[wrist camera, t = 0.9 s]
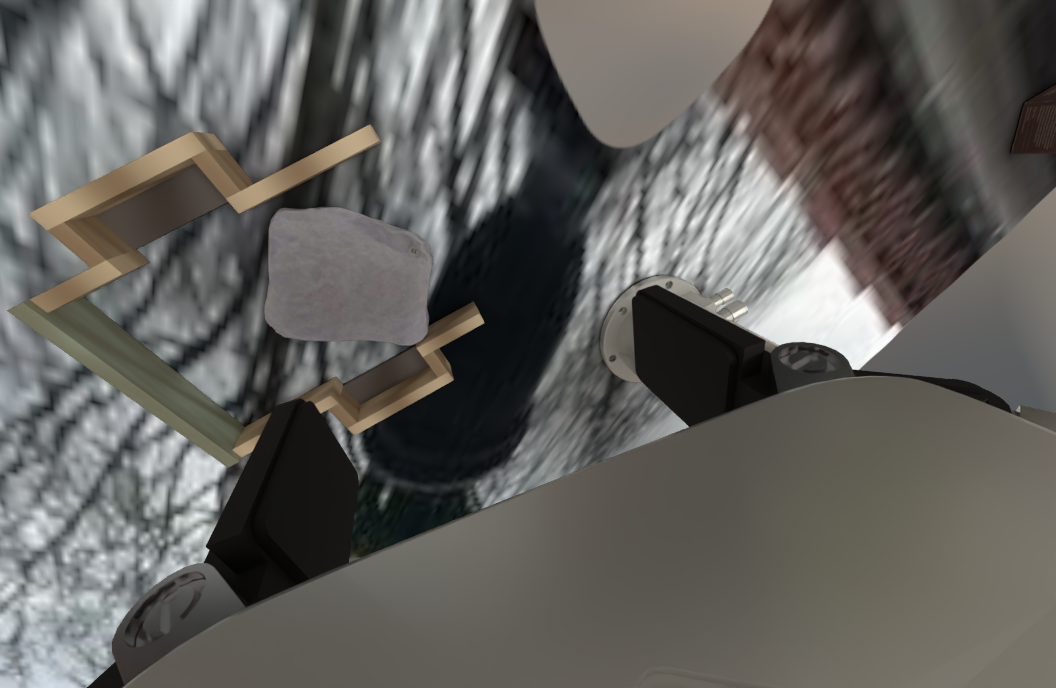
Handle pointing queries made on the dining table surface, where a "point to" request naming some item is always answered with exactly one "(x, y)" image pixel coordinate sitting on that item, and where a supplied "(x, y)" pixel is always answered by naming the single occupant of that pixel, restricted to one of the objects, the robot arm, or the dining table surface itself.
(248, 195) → the box
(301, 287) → the stone block
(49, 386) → the dining table surface
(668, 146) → the dining table surface
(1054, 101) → the box
